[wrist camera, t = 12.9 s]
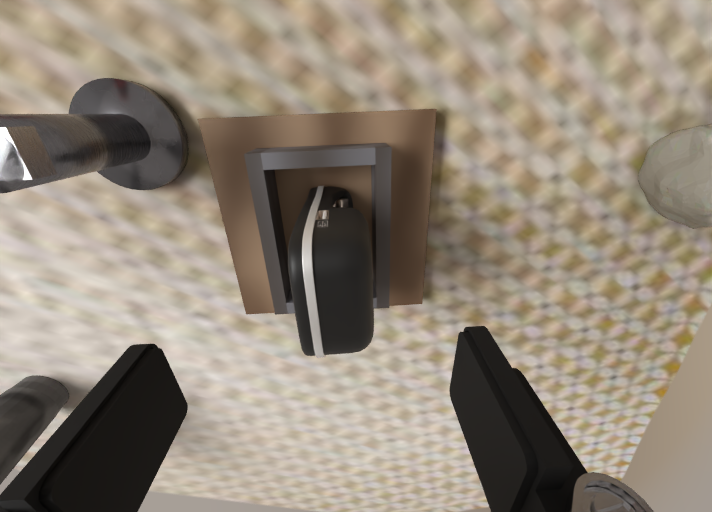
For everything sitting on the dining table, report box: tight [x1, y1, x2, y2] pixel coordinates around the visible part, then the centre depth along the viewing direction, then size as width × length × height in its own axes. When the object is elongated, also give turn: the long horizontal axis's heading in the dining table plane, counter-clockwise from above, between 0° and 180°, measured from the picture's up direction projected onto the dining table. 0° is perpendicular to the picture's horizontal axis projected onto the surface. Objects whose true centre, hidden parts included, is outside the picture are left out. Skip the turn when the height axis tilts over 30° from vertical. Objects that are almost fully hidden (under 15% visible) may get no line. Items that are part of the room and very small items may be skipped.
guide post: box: [0, 78, 188, 193], centre depth 16 cm, size 7×7×10 cm
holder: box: [198, 109, 436, 314], centre depth 22 cm, size 16×16×4 cm
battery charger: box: [288, 186, 374, 358], centre depth 18 cm, size 7×4×11 cm, turn 3°
